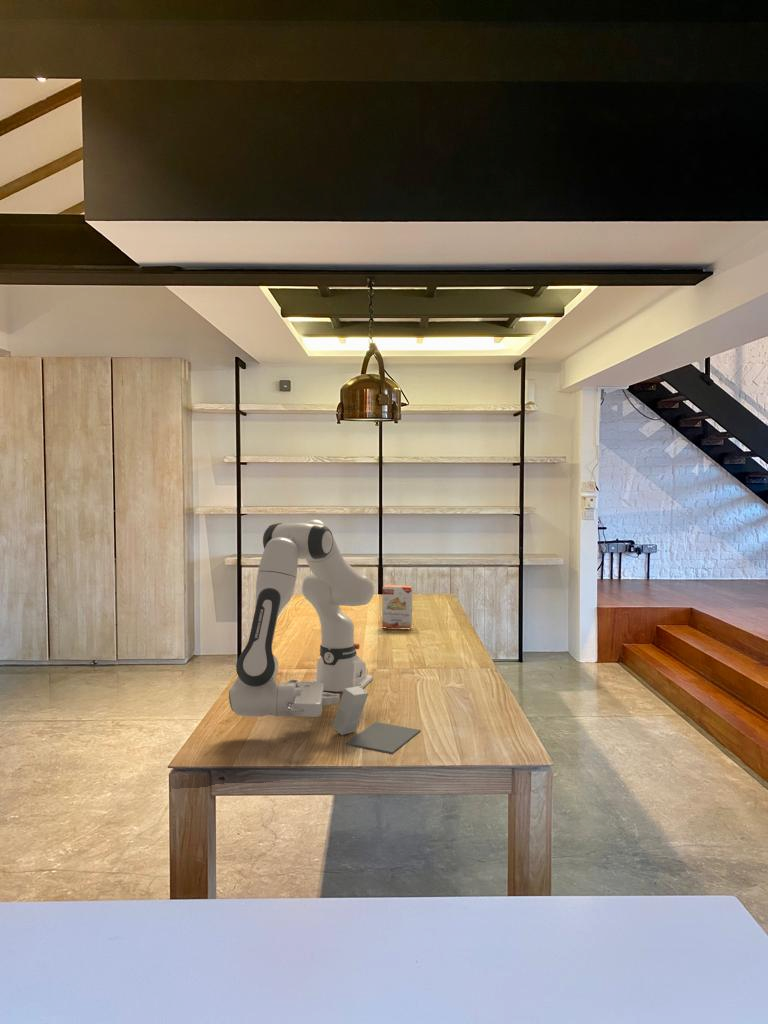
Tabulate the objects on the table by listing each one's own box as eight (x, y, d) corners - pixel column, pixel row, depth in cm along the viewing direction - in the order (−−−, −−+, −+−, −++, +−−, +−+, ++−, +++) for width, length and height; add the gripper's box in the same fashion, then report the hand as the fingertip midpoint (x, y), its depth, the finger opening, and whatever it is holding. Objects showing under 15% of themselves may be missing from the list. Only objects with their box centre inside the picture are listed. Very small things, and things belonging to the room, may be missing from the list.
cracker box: (381, 629, 327) (382, 586, 327) (384, 626, 333) (384, 584, 333) (410, 630, 325) (411, 587, 324) (412, 628, 331) (412, 585, 330)
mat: (375, 723, 195) (375, 722, 195) (420, 731, 189) (420, 729, 189) (344, 744, 179) (344, 742, 179) (392, 753, 173) (392, 752, 173)
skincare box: (345, 724, 191) (358, 685, 189) (356, 732, 188) (369, 692, 187) (331, 727, 186) (344, 687, 185) (341, 735, 184) (354, 695, 182)
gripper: (285, 699, 176) (339, 698, 176) (292, 677, 196) (339, 677, 197) (285, 723, 176) (339, 722, 176) (292, 699, 196) (340, 698, 197)
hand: (339, 698), depth 187 cm, fingers closed
